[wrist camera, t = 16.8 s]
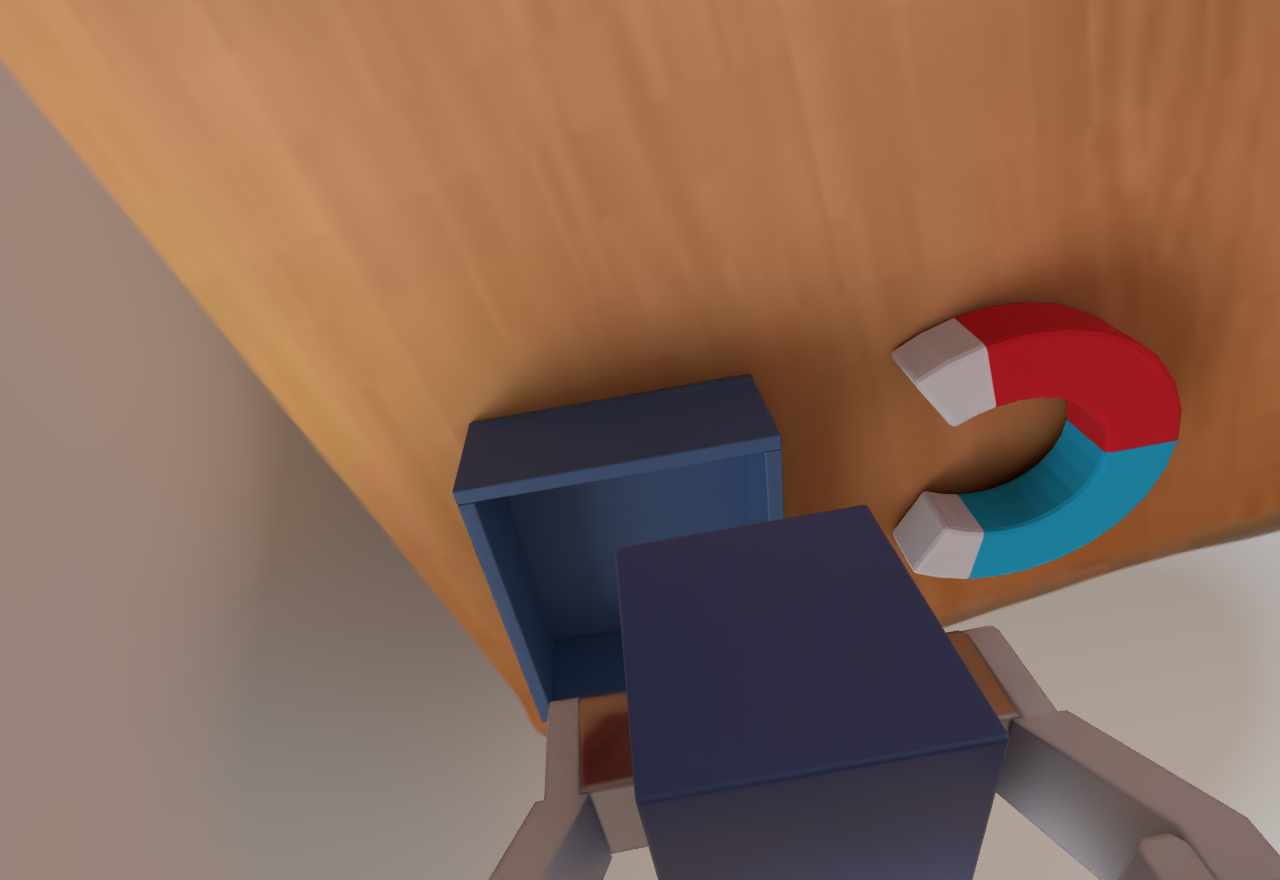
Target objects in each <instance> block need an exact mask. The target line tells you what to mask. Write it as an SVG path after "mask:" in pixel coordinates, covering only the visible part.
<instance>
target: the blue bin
mask: <svg viewBox="0 0 1280 880" xmlns="http://www.w3.org/2000/svg"><path fill="white" fill-rule="evenodd" d="M781 448H782V439H781V434H780V432H779V430H778V428H777V426H776V424H775V422H774V420H773V418H772V416H771V414H770V412H769V410H768V408H767V406H766V404H765V402H764V400H763V398H762V396H761V394H760V392H759V390H758V388H757V386H756V384H755V382H754V380H753V378H752V376H751V374H748V375H742V376H736V377H731V378H725V379H719V380H714V381H708V382H702V383H696V384H691V385H685V386H679V387H673V388H668V389H662V390H656V391H650V392H645V393H639V394H633V395H628V396H622V397H616V398H610V399H605V400H599V401H593V402H587V403H582V404H576V405H570V406H564V407H559V408H553V409H547V410H542V411H536V412H530V413H524V414H519V415H513V416H507V417H501V418H496V419H490V420H484V421H478V422H473V423H470V424H469V428H468V432H467V436H466V440H465V444H464V448H463V452H462V456H461V460H460V464H459V468H458V472H457V476H456V480H455V484H454V488H453V495H454V497H455V500H456V503H457V504H458V508H459V510H460V513H461V515H462V518H463V521H464V523H465V526H466V528H467V531H468V533H469V536H470V538H471V541H472V544H473V546H474V549H475V551H476V554H477V556H478V559H479V562H480V564H481V567H482V569H483V572H484V574H485V577H486V579H487V582H488V585H489V587H490V590H491V592H492V595H493V597H494V600H495V603H496V605H497V608H498V610H499V613H500V615H501V618H502V620H503V623H504V626H505V628H506V631H507V633H508V636H509V638H510V641H511V644H512V646H513V649H514V651H515V654H516V656H517V659H518V661H519V664H520V667H521V669H522V672H523V674H524V677H525V679H526V682H527V685H528V687H529V690H530V692H531V695H532V697H533V700H534V702H535V705H536V708H537V710H538V713H539V715H540V718H541V720H542V722H547V714H548V709H549V705H550V702H553V701H559V700H564V699H570V698H576V697H584V696H590V695H597V694H603V693H610V692H616V691H623V690H626V682H625V670H624V657H623V645H622V633H621V621H620V608H619V596H618V584H617V572H616V560H615V551H616V549H617V548H620V547H625V546H631V545H637V544H642V543H648V542H654V541H660V540H665V539H671V538H677V537H682V536H688V535H694V534H700V533H705V532H711V531H717V530H722V529H728V528H734V527H740V526H745V525H751V524H757V523H762V522H768V521H774V520H779V519H784V498H783V469H782V449H781Z"/></svg>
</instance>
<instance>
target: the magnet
mask: <svg viewBox="0 0 1280 880" xmlns="http://www.w3.org/2000/svg"><path fill="white" fill-rule="evenodd" d="M892 358H893V359H894V361H895V362H896V363H897V364H898V365H899V367H900V368H901V369H902V370H903V371H904V373H905V374H906V375H907V376H908V377H909V379H910V380H911V381H912V382H913V383H914V385H915V386H916V387H917V388H918V389H919V390H920V392H921V393H922V394H923V395H924V396H925V397H926V398H927V400H928V401H929V402H930V403H931V404H932V405H933V406H934V408H935V409H936V410H937V411H938V412H939V413H940V414H941V416H942V417H943V418H944V419H945V420H946V421H947V422H948V424H950V425H952V426H954V427H955V426H958V425H960V424H962V423H964V422H965V421H967V420H969V419H970V418H972V417H974V416H976V415H979V414H981V413H983V412H985V411H988V410H990V409H992V408H995V407H998V406H1001V405H1004V404H1008V403H1011V402H1015V401H1018V400H1025V399H1032V398H1040V397H1046V398H1061V399H1065V400H1066V403H1067V419H1066V422H1065V425H1064V428H1063V431H1062V434H1061V435H1060V437H1059V439H1058V440H1057V442H1056V444H1055V445H1054V447H1053V448H1052V449H1051V450H1050V452H1049V453H1048V454H1047V455H1046V456H1045V457H1044V458H1043V459H1042V461H1040V462H1039V463H1038V464H1036V465H1035V466H1034V467H1033V468H1031V469H1030V470H1029V471H1028V472H1026V473H1024V474H1023V475H1021V476H1019V477H1017V478H1016V479H1014V480H1012V481H1010V482H1008V483H1005V484H1003V485H1000V486H997V487H995V488H992V489H988V490H984V491H980V492H975V493H965V494H938V493H934V492H929V491H924V492H923V493H921V495H920V496H919V497H918V499H917V500H916V501H915V503H914V504H913V505H912V507H911V508H910V509H909V511H908V512H907V513H906V515H905V516H904V517H903V519H902V520H901V521H900V523H899V524H898V525H897V527H896V528H895V529H894V531H893V536H894V538H895V540H896V542H897V544H898V546H899V548H900V549H901V551H902V553H903V555H904V557H905V559H906V560H907V562H908V564H909V566H910V568H911V570H912V571H913V572H915V573H917V574H922V575H927V576H933V577H938V578H962V579H970V578H981V577H992V576H1000V575H1004V574H1009V573H1013V572H1018V571H1022V570H1027V569H1030V568H1033V567H1036V566H1039V565H1041V564H1044V563H1047V562H1050V561H1052V560H1055V559H1058V558H1061V557H1062V556H1064V555H1066V554H1068V553H1070V552H1072V551H1074V550H1076V549H1078V548H1080V547H1082V546H1084V545H1086V544H1088V543H1090V542H1091V541H1093V540H1094V539H1096V538H1097V537H1099V536H1100V535H1101V534H1103V533H1104V532H1106V531H1107V530H1108V529H1110V528H1111V527H1113V526H1114V525H1115V524H1117V523H1118V522H1120V521H1121V520H1122V519H1123V518H1124V517H1125V516H1126V515H1127V514H1128V513H1129V512H1130V511H1131V510H1132V509H1133V508H1134V507H1135V506H1136V505H1137V504H1138V503H1139V502H1140V501H1141V500H1142V499H1143V498H1145V497H1146V495H1147V494H1148V492H1149V491H1150V490H1151V488H1152V487H1153V485H1154V484H1155V483H1156V481H1157V480H1158V478H1159V477H1160V476H1161V474H1162V473H1163V471H1164V470H1165V469H1166V466H1167V464H1168V462H1169V459H1170V457H1171V455H1172V452H1173V450H1174V448H1175V445H1176V443H1177V441H1178V437H1179V428H1180V419H1181V411H1182V409H1181V405H1180V400H1179V396H1178V391H1177V387H1176V383H1175V380H1174V378H1173V377H1172V375H1171V374H1170V372H1169V371H1168V369H1167V368H1166V367H1165V365H1164V364H1163V362H1162V361H1161V359H1160V358H1159V356H1158V355H1157V354H1155V353H1154V352H1152V351H1151V350H1149V349H1148V348H1146V347H1145V346H1143V345H1142V344H1140V343H1139V342H1137V341H1136V340H1134V339H1133V338H1131V337H1130V336H1128V335H1126V334H1125V333H1123V332H1121V331H1120V330H1118V329H1116V328H1115V327H1113V326H1111V325H1110V324H1108V323H1106V322H1105V321H1103V320H1101V319H1100V318H1098V317H1096V316H1095V315H1093V314H1091V313H1088V312H1085V311H1082V310H1078V309H1075V308H1072V307H1068V306H1065V305H1062V304H1049V303H1032V302H1022V303H1015V304H1008V305H1001V306H993V307H987V308H984V309H981V310H978V311H974V312H971V313H968V314H965V315H961V316H958V317H955V318H952V319H950V320H948V321H946V322H944V323H942V324H939V325H937V326H935V327H933V328H931V329H929V330H927V331H925V332H922V333H920V334H919V335H917V336H916V337H914V338H913V339H911V340H909V341H908V342H906V343H905V344H903V345H902V346H900V347H899V348H897V349H896V350H894V351H893V352H892Z"/></svg>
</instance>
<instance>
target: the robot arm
mask: <svg viewBox="0 0 1280 880" xmlns="http://www.w3.org/2000/svg"><path fill="white" fill-rule="evenodd" d="M946 634H947V636H948V637H949V639H950V641H951V642H952V644H953V646H954V647H955V649H956V650H957V652H958V654H959V655H960V657H961V659H962V660H963V662H964V663H965V665H966V667H967V668H968V670H969V671H970V673H971V675H972V676H973V678H974V680H975V681H976V683H977V684H978V686H979V688H980V689H981V691H982V692H983V694H984V696H985V697H986V699H987V701H988V702H989V704H990V705H991V707H992V709H993V710H994V712H995V714H996V715H997V717H998V718H999V720H1000V722H1001V723H1002V725H1003V726H1004V728H1005V730H1006V731H1007V733H1008V735H1009V739H1010V740H1009V744H1008V748H1007V752H1006V755H1005V759H1004V763H1003V767H1002V770H1001V774H1000V778H999V782H998V785H997V789H996V793H998V794H999V795H1000V796H1001V797H1002V798H1004V799H1005V800H1006V801H1007V802H1008V803H1010V804H1011V805H1012V806H1013V807H1014V808H1015V809H1016V810H1018V811H1019V812H1020V813H1021V814H1023V815H1024V816H1025V817H1026V818H1027V819H1029V820H1030V821H1031V822H1032V823H1033V824H1034V825H1035V826H1037V827H1038V828H1039V829H1040V830H1042V831H1043V832H1044V833H1045V834H1046V835H1047V836H1048V837H1050V838H1051V839H1052V840H1053V841H1054V842H1056V843H1057V844H1058V845H1059V846H1060V847H1061V848H1063V849H1064V850H1065V851H1066V852H1067V853H1069V854H1070V855H1071V856H1072V857H1073V858H1074V859H1076V860H1077V861H1078V862H1079V863H1080V864H1082V865H1083V866H1084V867H1085V868H1086V869H1087V870H1089V871H1090V872H1091V873H1092V874H1094V875H1095V876H1096V877H1097V878H1098V879H1099V880H1280V855H1279V854H1278V853H1277V852H1276V851H1275V850H1274V848H1273V847H1272V846H1271V845H1270V844H1269V843H1268V841H1267V840H1266V839H1265V838H1264V837H1263V835H1262V834H1261V833H1260V832H1259V831H1258V830H1257V828H1256V827H1255V826H1254V825H1253V824H1252V823H1251V821H1250V820H1249V819H1248V818H1247V817H1245V816H1244V815H1242V814H1240V813H1238V812H1237V811H1235V810H1233V809H1232V808H1230V807H1229V806H1227V805H1225V804H1224V803H1222V802H1220V801H1218V800H1217V799H1215V798H1213V797H1212V796H1210V795H1208V794H1207V793H1205V792H1203V791H1202V790H1200V789H1198V788H1197V787H1195V786H1193V785H1192V784H1190V783H1188V782H1186V781H1185V780H1183V779H1181V778H1180V777H1178V776H1176V775H1175V774H1173V773H1171V772H1170V771H1168V770H1166V769H1165V768H1163V767H1161V766H1160V765H1158V764H1156V763H1155V762H1153V761H1151V760H1150V759H1148V758H1146V757H1145V756H1143V755H1141V754H1139V753H1138V752H1136V751H1134V750H1133V749H1131V748H1129V747H1128V746H1126V745H1124V744H1123V743H1121V742H1119V741H1118V740H1116V739H1114V738H1113V737H1111V736H1109V735H1108V734H1106V733H1104V732H1102V731H1101V730H1099V729H1098V728H1096V727H1094V726H1092V725H1091V724H1089V723H1087V722H1086V721H1084V720H1082V719H1081V718H1079V717H1077V716H1076V715H1074V714H1072V713H1070V712H1069V711H1067V710H1066V711H1059V712H1057V710H1056V709H1055V707H1054V706H1053V705H1052V703H1051V702H1050V700H1049V699H1048V698H1047V696H1046V695H1045V694H1044V692H1043V691H1042V689H1041V688H1040V687H1039V685H1038V684H1037V682H1036V681H1035V680H1034V678H1033V677H1032V675H1031V674H1030V673H1029V671H1028V670H1027V668H1026V667H1025V666H1024V664H1023V663H1022V662H1021V660H1020V659H1019V657H1018V656H1017V655H1016V653H1015V652H1014V651H1013V649H1012V648H1011V646H1010V645H1009V644H1008V642H1007V641H1006V639H1005V638H1004V637H1003V635H1002V634H1001V632H1000V631H999V630H997V629H996V628H995V627H993V626H984V627H979V628H974V629H969V630H964V631H953V632H947V633H946ZM647 846H648V843H647V839H646V836H645V832H644V829H643V825H642V822H641V819H640V815H639V812H638V808H637V805H636V801H635V792H634V780H633V767H632V755H631V743H630V731H629V718H628V706H627V694H626V690H623V691H616V692H610V693H603V694H597V695H590V696H584V697H576V698H570V699H564V700H559V701H553V702H550V705H549V709H548V714H547V741H546V768H545V796H544V800H543V801H539V802H535V804H534V805H533V807H532V809H531V810H530V812H529V814H528V816H527V817H526V819H525V820H524V822H523V824H522V825H521V827H520V829H519V830H518V832H517V834H516V835H515V837H514V839H513V840H512V842H511V843H510V845H509V847H508V848H507V850H506V852H505V853H504V855H503V857H502V858H501V860H500V862H499V863H498V865H497V867H496V869H495V870H494V872H493V873H492V875H491V877H490V878H489V880H603V878H604V875H605V873H606V871H607V868H608V866H609V864H610V861H611V859H612V856H611V854H613V853H617V852H623V851H628V850H632V849H638V848H643V847H647Z"/></svg>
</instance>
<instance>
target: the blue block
mask: <svg viewBox="0 0 1280 880" xmlns="http://www.w3.org/2000/svg"><path fill="white" fill-rule="evenodd" d="M615 560H616V572H617V584H618V596H619V608H620V621H621V633H622V645H623V657H624V670H625V682H626V694H627V706H628V718H629V731H630V743H631V755H632V767H633V780H634V792H635V801H636V805H637V808H638V812H639V815H640V819H641V822H642V825H643V829H644V832H645V836H646V839H647V843H648V846H649V850H650V853H651V856H652V860H653V863H654V867H655V870H656V874H657V877H658V880H972V879H973V875H974V871H975V868H976V864H977V860H978V857H979V852H980V849H981V845H982V842H983V838H984V834H985V830H986V827H987V822H988V819H989V815H990V811H991V808H992V804H993V800H994V797H995V793H996V789H997V785H998V782H999V778H1000V774H1001V770H1002V767H1003V763H1004V759H1005V755H1006V752H1007V748H1008V744H1009V740H1010V739H1009V735H1008V733H1007V731H1006V730H1005V728H1004V726H1003V725H1002V723H1001V722H1000V720H999V718H998V717H997V715H996V714H995V712H994V710H993V709H992V707H991V705H990V704H989V702H988V701H987V699H986V697H985V696H984V694H983V692H982V691H981V689H980V688H979V686H978V684H977V683H976V681H975V680H974V678H973V676H972V675H971V673H970V671H969V670H968V668H967V667H966V665H965V663H964V662H963V660H962V659H961V657H960V655H959V654H958V652H957V650H956V649H955V647H954V646H953V644H952V642H951V641H950V639H949V637H948V636H947V634H946V633H945V631H944V629H943V628H942V626H941V625H940V623H939V621H938V620H937V618H936V616H935V615H934V613H933V612H932V610H931V608H930V607H929V605H928V604H927V602H926V600H925V599H924V597H923V595H922V594H921V592H920V591H919V589H918V587H917V586H916V584H915V582H914V581H913V579H912V578H911V576H910V574H909V573H908V571H907V570H906V568H905V566H904V565H903V563H902V561H901V560H900V558H899V557H898V555H897V553H896V552H895V550H894V548H893V547H892V545H891V544H890V542H889V540H888V539H887V537H886V536H885V534H884V532H883V531H882V529H881V527H880V526H879V524H878V523H877V521H876V519H875V518H874V516H873V515H872V513H871V511H870V510H869V508H868V506H866V505H859V506H854V507H848V508H842V509H837V510H831V511H825V512H819V513H814V514H808V515H802V516H797V517H791V518H785V519H779V520H774V521H768V522H762V523H757V524H751V525H745V526H740V527H734V528H728V529H722V530H717V531H711V532H705V533H700V534H694V535H688V536H682V537H677V538H671V539H665V540H660V541H654V542H648V543H642V544H637V545H631V546H625V547H620V548H617V549H616V551H615Z"/></svg>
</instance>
